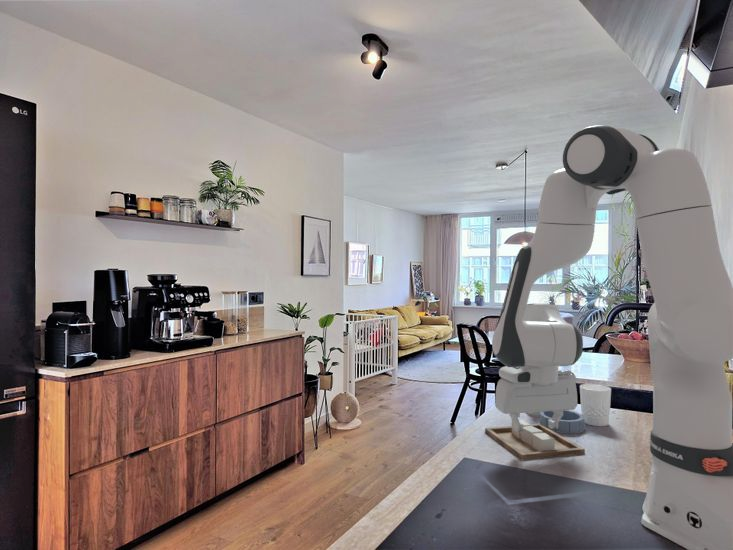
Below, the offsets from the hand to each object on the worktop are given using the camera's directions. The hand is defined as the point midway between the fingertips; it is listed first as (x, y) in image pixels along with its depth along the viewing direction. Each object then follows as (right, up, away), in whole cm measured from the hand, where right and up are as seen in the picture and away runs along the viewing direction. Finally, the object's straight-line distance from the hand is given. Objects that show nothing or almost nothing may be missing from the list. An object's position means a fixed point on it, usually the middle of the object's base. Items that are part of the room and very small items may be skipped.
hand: (535, 429), depth 109 cm
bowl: (+13, -5, +16) cm, 22 cm away
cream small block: (0, -5, +10) cm, 11 cm away
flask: (+11, -5, +28) cm, 31 cm away
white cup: (+24, -5, +21) cm, 33 cm away
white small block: (+2, -5, 0) cm, 5 cm away
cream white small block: (+1, -5, +5) cm, 7 cm away
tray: (+1, -5, +5) cm, 7 cm away
